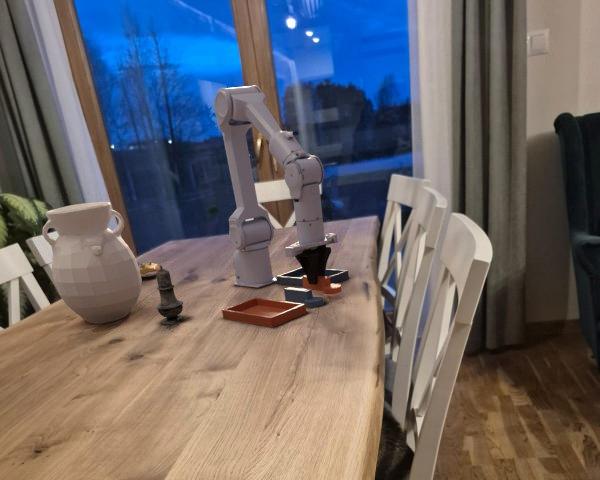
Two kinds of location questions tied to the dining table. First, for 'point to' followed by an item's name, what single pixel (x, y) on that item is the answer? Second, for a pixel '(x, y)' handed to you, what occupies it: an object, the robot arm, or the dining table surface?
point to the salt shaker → (168, 299)
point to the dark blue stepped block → (302, 297)
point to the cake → (148, 268)
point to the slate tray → (296, 275)
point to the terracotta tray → (264, 311)
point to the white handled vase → (93, 262)
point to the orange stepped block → (322, 285)
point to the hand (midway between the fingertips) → (316, 282)
